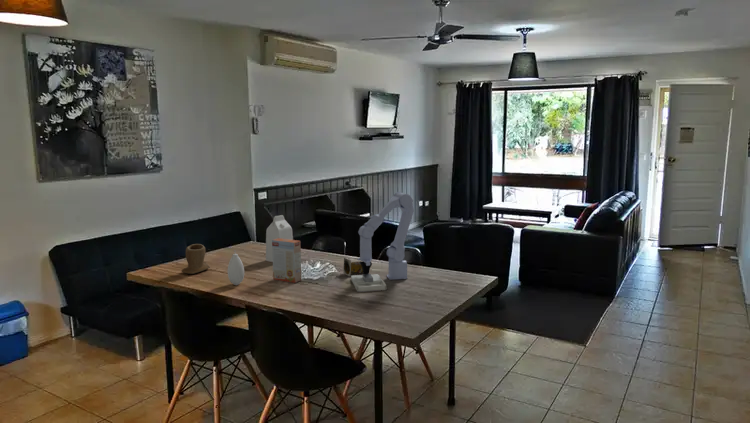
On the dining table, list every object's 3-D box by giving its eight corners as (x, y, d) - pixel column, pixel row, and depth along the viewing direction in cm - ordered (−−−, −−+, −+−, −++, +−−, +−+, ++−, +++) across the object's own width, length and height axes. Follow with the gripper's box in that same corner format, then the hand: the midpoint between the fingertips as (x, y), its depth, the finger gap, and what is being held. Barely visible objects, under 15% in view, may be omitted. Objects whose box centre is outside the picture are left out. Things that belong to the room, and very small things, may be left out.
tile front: (371, 279, 268) (371, 275, 268) (373, 282, 264) (373, 278, 264) (363, 280, 267) (363, 276, 267) (365, 282, 264) (365, 278, 263)
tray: (382, 284, 267) (382, 279, 267) (386, 290, 258) (386, 285, 257) (354, 285, 265) (354, 281, 264) (357, 291, 255) (357, 287, 255)
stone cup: (194, 276, 281) (192, 248, 278) (178, 273, 287) (176, 246, 284) (216, 269, 294) (214, 243, 291) (200, 267, 300) (199, 240, 297)
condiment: (350, 276, 281) (369, 273, 288) (350, 260, 280) (370, 258, 286) (343, 273, 287) (362, 270, 293) (343, 257, 286) (362, 255, 292)
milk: (280, 256, 323) (279, 213, 319) (294, 259, 316) (293, 215, 312) (265, 260, 313) (264, 216, 309) (279, 263, 307) (278, 218, 302)
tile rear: (370, 277, 272) (370, 273, 272) (371, 279, 268) (371, 275, 268) (362, 277, 271) (362, 273, 271) (363, 280, 267) (363, 276, 267)
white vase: (239, 281, 273) (237, 246, 270) (247, 284, 267) (246, 249, 264) (225, 284, 267) (223, 249, 264) (233, 287, 262) (231, 251, 259)
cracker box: (302, 280, 274) (301, 240, 270) (294, 283, 269) (293, 242, 265) (280, 276, 281) (279, 237, 277) (272, 279, 275) (271, 239, 272)
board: (378, 277, 278) (378, 274, 278) (382, 284, 268) (382, 280, 267) (351, 279, 276) (351, 275, 275) (354, 285, 265) (354, 281, 265)
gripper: (355, 246, 277) (355, 272, 279) (360, 253, 263) (360, 280, 265) (369, 246, 278) (369, 271, 280) (374, 252, 264) (374, 279, 266)
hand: (365, 275), depth 273 cm, fingers closed
